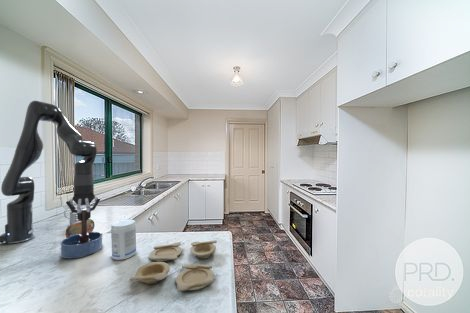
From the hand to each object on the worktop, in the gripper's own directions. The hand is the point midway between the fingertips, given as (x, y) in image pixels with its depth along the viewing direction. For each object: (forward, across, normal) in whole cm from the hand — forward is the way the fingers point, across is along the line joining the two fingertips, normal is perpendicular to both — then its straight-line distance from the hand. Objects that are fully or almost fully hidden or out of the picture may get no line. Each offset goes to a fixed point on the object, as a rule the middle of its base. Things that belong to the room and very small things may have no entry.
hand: (84, 219), depth 95 cm
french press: (+15, +10, -43) cm, 47 cm away
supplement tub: (+14, -17, +16) cm, 27 cm away
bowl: (+14, 0, +2) cm, 14 cm away
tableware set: (+14, -36, +37) cm, 53 cm away
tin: (+14, +4, -19) cm, 24 cm away
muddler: (+12, 0, 0) cm, 12 cm away
